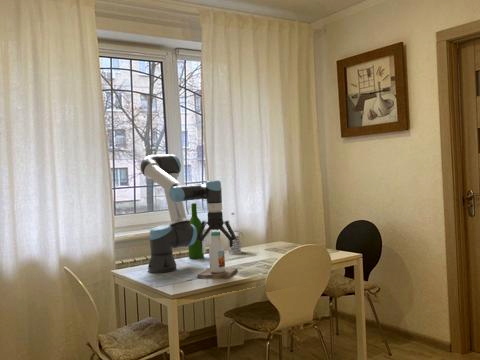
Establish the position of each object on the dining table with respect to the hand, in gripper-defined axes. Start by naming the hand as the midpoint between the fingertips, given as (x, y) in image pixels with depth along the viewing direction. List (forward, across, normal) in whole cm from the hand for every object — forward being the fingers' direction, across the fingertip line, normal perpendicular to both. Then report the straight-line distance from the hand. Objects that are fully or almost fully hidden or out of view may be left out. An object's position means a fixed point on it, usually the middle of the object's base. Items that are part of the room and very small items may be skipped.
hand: (216, 253), depth 245 cm
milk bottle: (+9, 0, 0) cm, 9 cm away
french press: (+11, -7, +58) cm, 59 cm away
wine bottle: (+11, -27, +41) cm, 50 cm away
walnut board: (+11, 0, 0) cm, 11 cm away
